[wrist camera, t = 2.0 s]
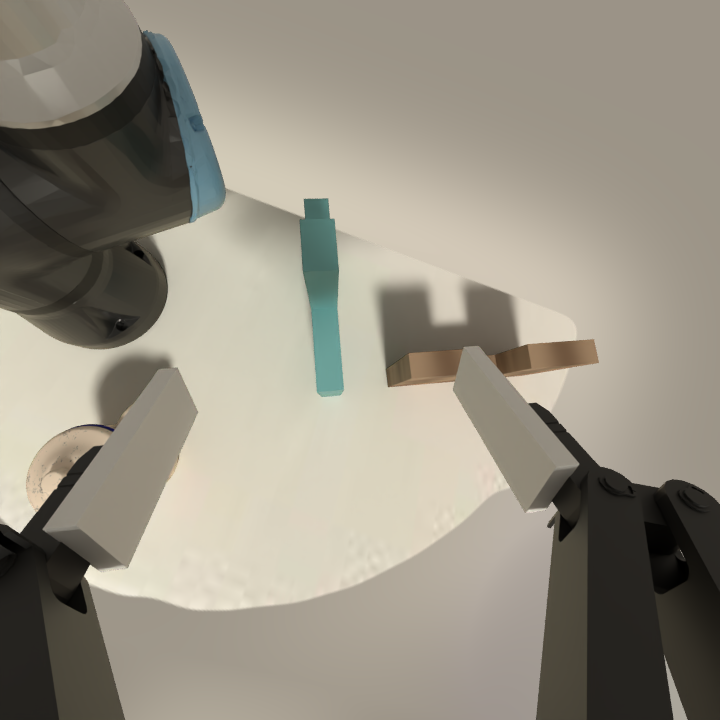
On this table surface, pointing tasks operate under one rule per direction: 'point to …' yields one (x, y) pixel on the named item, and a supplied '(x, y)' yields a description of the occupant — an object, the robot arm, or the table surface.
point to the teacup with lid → (64, 458)
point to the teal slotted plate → (322, 293)
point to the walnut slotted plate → (509, 362)
